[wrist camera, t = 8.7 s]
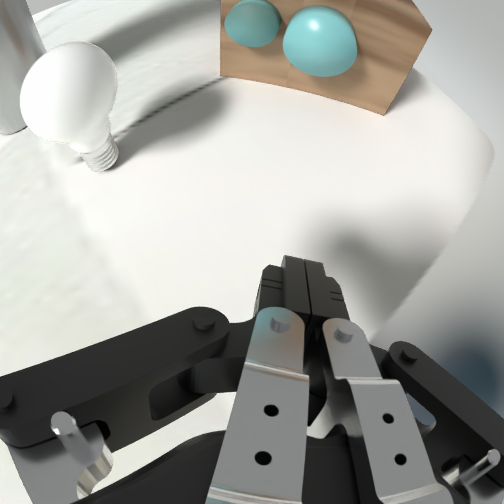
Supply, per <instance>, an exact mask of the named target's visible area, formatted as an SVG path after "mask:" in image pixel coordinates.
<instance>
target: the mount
mask: <svg viewBox="0 0 504 504" xmlns="http://www.w3.org/2000/svg"><path fill="white" fill-rule="evenodd" d="M312 5H324V6H329V7H332V8H334V9H336V10H338V11H340V12H342V13H343V14H344V15H345V16H346V17H347V18H348V19H349V20H350V22H351V23H352V25H353V28H354V31H355V38H356V46H357V56H356V59H355V62H354V63H353V65H352V66H351V67H350V68H349V69H348V70H346V71H345V72H343V73H341V74H339V75H335V76H330V77H319V76H313V75H310V74H307V73H304V72H302V71H300V70H299V69H297V68H296V67H295V66H293V65H292V64H291V63H290V62H289V60H288V59H287V57H286V56H285V53H284V50H283V39H284V36H285V33H286V29H287V26H288V23H289V21H290V18H291V17H292V16H293V14H294V13H295V12H297V11H298V10H300V9H302V8H304V7H307V6H312ZM431 32H432V28H431V27H430V25H429V24H428V22H427V21H426V19H425V18H424V16H423V15H422V14H421V12H420V11H419V9H418V8H417V7H416V5H415V4H414V3H413V1H412V0H221V31H220V76H226V77H234V78H240V79H247V80H253V81H258V82H264V83H269V84H274V85H279V86H284V87H288V88H293V89H297V90H301V91H305V92H309V93H313V94H317V95H321V96H325V97H328V98H332V99H335V100H339V101H342V102H345V103H348V104H352V105H355V106H358V107H361V108H364V109H367V110H370V111H373V112H375V113H378V114H381V115H385V113H386V111H387V110H388V108H389V106H390V104H391V103H392V101H393V99H394V98H395V96H396V94H397V92H398V91H399V89H400V87H401V86H402V84H403V82H404V80H405V79H406V77H407V75H408V73H409V72H410V70H411V68H412V66H413V64H414V63H415V61H416V59H417V57H418V56H419V54H420V52H421V50H422V48H423V46H424V45H425V43H426V41H427V39H428V37H429V35H430V34H431Z"/></svg>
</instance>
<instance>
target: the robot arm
mask: <svg viewBox="0 0 504 504" xmlns="http://www.w3.org/2000/svg"><path fill="white" fill-rule="evenodd" d="M44 53H46V50H45V47H44V45H43V43H42V40H41V38H40V36H39V33H38V31H37V28H36V26H35V23H34V21H33V18H32V16H31V13H30V11H29V8H28V5H27V2H26V0H0V134H2V135H9V134H12V133H15V132H17V131H19V130H21V129H23V128H24V127H26V126H27V125H26V123H25V121H24V119H23V116H22V113H21V109H20V92H21V88H22V84H23V81H24V79H25V77H26V75H27V73H28V71H29V70H30V68H31V67H32V65H33V64H34V63H35V62H36V61H37V60H38V59H39V58H40V57H41V56H42V55H43V54H44ZM224 392H237V393H236V397H235V401H234V404H233V408H232V412H231V415H230V419H229V422H228V426H227V430H222V431H215V432H210V433H205V434H202V435H199V436H196V437H193V438H191V439H189V440H187V441H185V442H183V443H182V444H180V445H178V446H177V447H175V448H173V449H172V450H170V451H169V452H167V453H165V454H164V455H162V456H161V457H159V458H157V459H156V460H154V461H152V462H151V463H149V464H147V465H145V466H144V467H142V468H140V469H138V470H137V471H135V472H133V473H131V474H130V475H128V476H126V477H124V478H122V479H120V480H118V481H116V482H115V483H113V484H111V485H109V486H107V487H105V488H103V489H101V490H99V491H97V492H95V493H92V494H91V492H92V489H93V488H94V486H95V485H96V484H97V483H98V482H99V481H101V480H102V479H104V478H105V477H106V476H107V475H108V474H109V473H110V471H111V469H112V465H113V457H112V454H111V453H113V452H115V451H117V450H119V449H121V448H123V447H125V446H127V445H129V444H132V443H134V442H136V441H138V440H139V439H141V438H143V437H145V436H147V435H149V434H151V433H153V432H155V431H157V430H159V429H160V428H162V427H164V426H166V425H168V424H170V423H171V422H173V421H175V420H177V419H179V418H180V417H182V416H184V415H186V414H187V413H189V412H191V411H192V410H194V409H196V408H198V407H199V406H201V405H203V404H204V403H206V402H208V401H209V400H211V399H212V398H214V396H215V395H216V394H217V393H224ZM407 393H409V394H410V395H411V396H412V397H413V398H415V400H417V401H418V402H419V403H420V404H421V405H422V406H424V407H425V408H426V409H427V410H428V411H429V412H430V413H431V414H433V415H434V417H435V419H436V421H435V422H434V423H433V424H432V425H424V424H422V423H421V422H419V421H418V420H417V419H416V418H415V417H414V416H413V413H412V411H411V408H410V406H409V403H408V401H407V398H406V394H407ZM0 438H1V440H2V441H3V442H4V443H5V444H6V445H7V446H8V449H9V451H10V454H11V456H12V459H13V461H14V464H15V466H16V469H17V471H18V473H19V476H20V478H21V480H22V482H23V485H24V487H25V489H26V491H27V493H28V495H29V497H30V499H31V501H32V503H33V504H501V503H502V501H503V499H504V419H503V418H502V417H501V416H500V415H498V414H497V413H496V412H495V411H494V410H493V409H491V408H490V407H489V406H488V405H487V404H485V403H484V402H483V401H482V400H481V399H479V398H478V397H477V396H476V395H475V394H474V393H472V392H471V391H470V390H469V389H467V388H466V387H465V386H464V385H463V384H462V383H460V382H459V381H458V380H457V379H456V378H454V377H453V376H452V375H451V374H449V373H448V372H447V371H445V370H444V369H443V368H442V367H441V366H440V365H438V364H437V363H436V362H435V361H433V360H432V359H431V358H430V357H429V356H427V355H426V354H425V353H423V352H422V351H421V350H420V349H418V348H417V347H416V346H414V345H412V344H410V343H407V342H403V341H398V342H394V343H393V344H392V345H391V346H390V348H389V350H388V351H386V350H383V349H381V348H378V347H375V346H373V345H370V344H369V343H368V341H367V338H366V336H365V334H364V332H363V330H362V329H361V328H360V327H359V326H358V325H356V324H355V323H353V322H351V321H350V318H349V315H348V311H347V308H346V304H345V302H344V298H343V295H342V291H341V288H340V285H339V284H338V283H337V282H336V281H335V280H334V279H333V278H332V277H327V276H326V275H325V271H324V267H323V263H320V262H315V261H311V260H306V259H304V260H303V259H301V258H296V257H292V256H287V255H284V257H283V260H282V264H281V267H278V266H274V265H268V266H267V267H266V268H265V269H264V270H263V272H262V276H261V280H260V284H259V289H258V293H257V297H256V301H255V307H254V314H253V318H252V319H250V320H248V321H246V322H241V323H229V321H228V319H227V318H226V316H225V315H224V314H222V313H221V312H219V311H217V310H215V309H212V308H208V307H192V308H189V309H186V310H184V311H181V312H178V313H176V314H173V315H171V316H168V317H166V318H163V319H160V320H158V321H155V322H153V323H150V324H147V325H145V326H142V327H140V328H137V329H134V330H132V331H129V332H126V333H124V334H121V335H118V336H116V337H113V338H110V339H108V340H105V341H102V342H99V343H97V344H94V345H91V346H88V347H86V348H83V349H80V350H77V351H74V352H72V353H69V354H66V355H63V356H60V357H57V358H55V359H52V360H49V361H46V362H43V363H40V364H37V365H34V366H31V367H28V368H25V369H22V370H19V371H16V372H13V373H10V374H7V375H4V376H1V377H0Z"/></svg>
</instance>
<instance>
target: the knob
mask: <svg viewBox="0 0 504 504" xmlns="http://www.w3.org/2000/svg"><path fill="white" fill-rule="evenodd" d="M283 50H284V53H285V56H286V57H287V59H288V60H289V62H290V63H291V64H292V65H293V66H295V67H296V68H297V69H299V70H300V71H302V72H304V73H307V74H310V75H313V76H319V77H330V76H335V75H339V74H341V73H343V72H345V71H346V70H348V69H349V68H350V67H351V66H352V65H353V63H354V62H355V59H356V56H357V46H356V38H355V31H354V28H353V25H352V23H351V22H350V20H349V19H348V18H347V17H346V16H345V15H344V14H343V13H342V12H340V11H338V10H336V9H334V8H332V7H329V6H324V5H312V6H307V7H304V8H302V9H300V10H298V11H297V12H295V13H294V14H293V16H292V17H291V18H290V21H289V23H288V26H287V29H286V33H285V36H284V39H283Z"/></svg>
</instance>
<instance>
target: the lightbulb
mask: <svg viewBox="0 0 504 504" xmlns="http://www.w3.org/2000/svg"><path fill="white" fill-rule="evenodd" d="M117 91H118V75H117V71H116V67H115V65H114V63H113V61H112V59H111V58H110V56H109V55H108V54H107V53H106V52H105V51H104V50H102V49H101V48H100V47H98V46H96V45H94V44H91V43H87V42H69V43H64V44H61V45H58V46H56V47H54V48H52V49H50V50H49V51H47V52H46V53H44V54H43V55H42V56H41V57H40V58H39V59H38V60H37V61H36V62H35V63H34V64H33V65H32V67H31V68H30V70H29V71H28V73H27V75H26V77H25V79H24V81H23V84H22V88H21V92H20V109H21V113H22V116H23V119H24V121H25V123H26V125H27V126H28V127H29V129H30V130H31V131H32V132H33V133H34V134H36V135H37V136H39V137H40V138H42V139H45V140H47V141H51V142H56V143H64V144H67V145H68V146H70V147H71V148H72V149H73V150H75V151H77V152H79V153H80V155H81V156H82V158H83V159H84V161H85V162H86V164H87V165H88V167H89V168H90V169H91V170H92V171H96V172H99V171H104V170H106V169H108V168H109V167H111V166H112V165H113V164H114V163H115V162H116V160H117V158H118V155H119V151H118V148H117V146H116V144H115V142H114V139H113V137H112V135H111V133H110V130H111V123H110V113H111V110H112V108H113V105H114V103H115V100H116V96H117Z"/></svg>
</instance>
